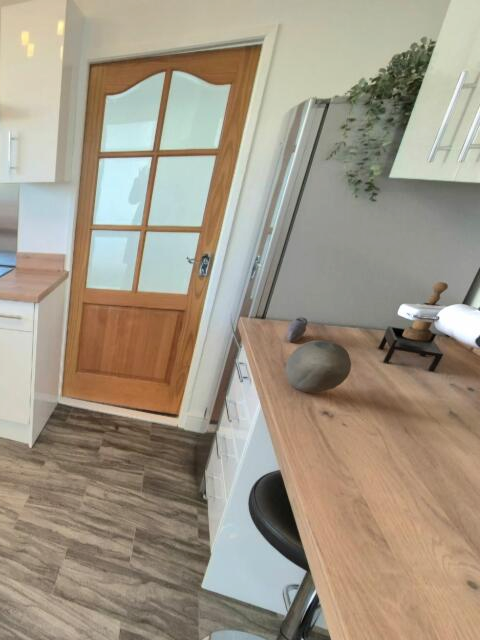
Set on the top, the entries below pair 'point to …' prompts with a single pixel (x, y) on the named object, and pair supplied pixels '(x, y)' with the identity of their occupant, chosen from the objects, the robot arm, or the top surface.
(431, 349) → the tray
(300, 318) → the perforated stone tool
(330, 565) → the top surface
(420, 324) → the mortar and pestle
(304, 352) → the cantaloupe
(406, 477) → the top surface
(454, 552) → the top surface
